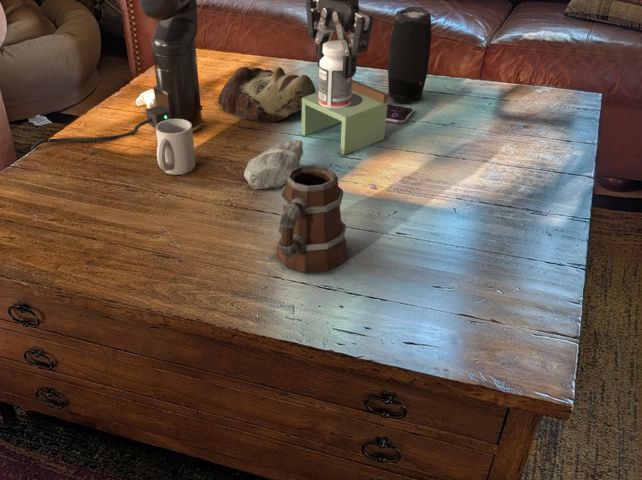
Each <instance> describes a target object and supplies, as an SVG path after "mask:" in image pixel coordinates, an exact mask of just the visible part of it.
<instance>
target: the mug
mask: <svg viewBox="0 0 642 480" xmlns="http://www.w3.org/2000/svg"><path fill="white" fill-rule="evenodd" d="M343 197H344V190H343V189H342V188H341V187H340V185H339V177H338V176H337V173H336V172H335V171H333V170H332V169H331V168H330V167H329V166H325V165H322V164H321V165H320V164H317V163H316V164H315V163H314V164H305V165H304V164H303V165H298V166H297V168H295V169H293V170H291V171H290V173H289V175H288V177H287V180H286V183H285V184H284V185H283V187H282V190H281V192H280V194H279V201H280V202H281V203H282V204H283V207H282V208H283V210H282V213H281V218H280V221H279V224H278V229H277V231H276V236H277V237H278V238H279V240H278V244H277V246H276V257H277V258H278V259H279V261H280V262H281V263H282V264H283V265H284V267H285V268H287V269H291V270H294V271H298V272H301V273H304V274H309V273H320V272H329V271H330V270H332V269H334V268H335V267H337V266H339V265H340V264H342V263H344V260H345V256H346V251H347V241H346V238H345V234H346V230H347V226H346V224H345V223H344V222H343V221H342V215H341V205H342V200H343Z"/></svg>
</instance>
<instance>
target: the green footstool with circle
mask: <svg viewBox="0 0 642 480" xmlns="http://www.w3.org/2000/svg"><path fill="white" fill-rule="evenodd" d="M388 98H389V93H387V92H384V91H383V90H380V89H377V88H375V87H373V86H370V85H368V84H364V83H362V82H360V81H357V80H356V79H353V78H352V92H351V103H350V104H349V105H348V106H347V107H344V108H341V109H329V108H325V107H323V106H321V105H320V103H319V91H318V92H316V93H314V94H311V95H309V96H306V97H303V98H302V108H301V134H302V135H303V136H307V135H310V134H313V133H316V132H318V131H321V130H323V129H326V128H330V127H332V126H335V125H337V124H340V123H341V128H340V129H341V131H340V132H341V134H340V154H341V155H343V156H345V155H348V154H350V153H353V152H355V151H358V150H361V149H363V148H365V147H368V146H370V145H372V144H375V143H377V142H381V141H382V140H385V135H386V123H387V120H386V113H387V104H388V100H389V99H388Z"/></svg>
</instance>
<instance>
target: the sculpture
mask: <svg viewBox="0 0 642 480" xmlns="http://www.w3.org/2000/svg"><path fill="white" fill-rule="evenodd" d="M314 93H317V92H316V87H315V84H314V82H313V81H312V79H311V77H309V75H307V74H299V75H296V74H286V72H285V69H283V68H282V67H281V66H277V67H275V68H274V69H273V70H271V69H264V68H261V67H251V68H249V67H247V66H240V67H239V68H237V69H236V70H235V73H234V74H233V75H232V76H231V77H230V78H229V79H228V80H227V81H226V83H225V84H224V86H223V87H222V89H221V90H220V92H219V95H218V101H217V103H218V104H219V105H221V108H222V110H223V111H226V112H228V113H230V114H234V115H235V116H236V117H237V118H240V119H242V120H250V121H258V122H263V123H270V122H272V123H276V122H278V121H282V120H284V119H287V117H288V116H290V115H292V114H294V113H297V112H298V111H300V110H302V98H303V97H306V96H309V95H311V94H314Z"/></svg>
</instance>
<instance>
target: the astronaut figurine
mask: <svg viewBox="0 0 642 480" xmlns="http://www.w3.org/2000/svg"><path fill="white" fill-rule="evenodd" d="M135 104H136V106H138V107H142V106H145V105H146V108H147V109H149V108H153V107H156V103H155V95H154V88H151V89H148V90H146V91H143V92H141V93H140V94H139V96H138V97H137V98H136V100H135Z"/></svg>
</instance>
